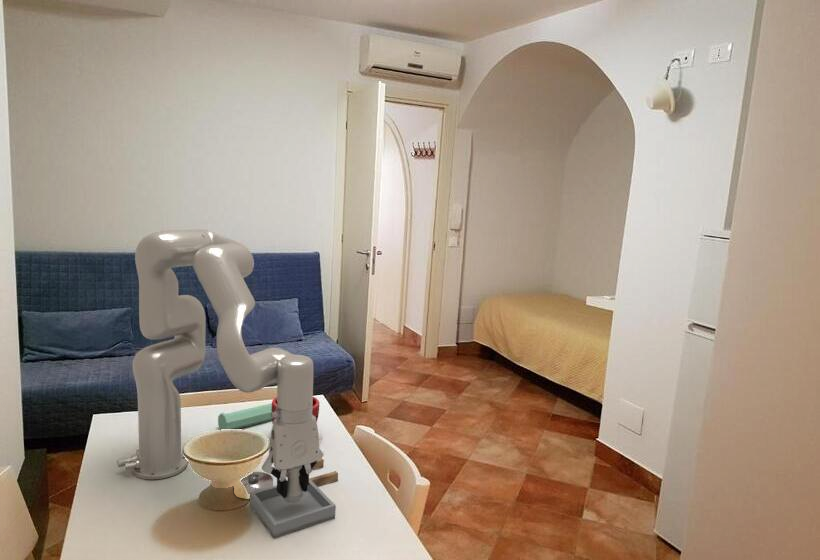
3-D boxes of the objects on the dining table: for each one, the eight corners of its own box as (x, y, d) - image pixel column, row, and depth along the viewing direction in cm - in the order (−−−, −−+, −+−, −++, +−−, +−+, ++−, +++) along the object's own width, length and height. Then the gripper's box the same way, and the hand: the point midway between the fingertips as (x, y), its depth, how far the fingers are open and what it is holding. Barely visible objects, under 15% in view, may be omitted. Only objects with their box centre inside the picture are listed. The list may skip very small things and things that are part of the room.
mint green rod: (294, 392, 176) (220, 409, 159) (304, 404, 173) (228, 422, 156) (290, 406, 179) (216, 424, 161) (299, 418, 175) (224, 438, 158)
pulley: (241, 503, 124) (241, 490, 123) (228, 485, 131) (228, 472, 130) (278, 492, 129) (279, 480, 128) (264, 475, 136) (264, 463, 136)
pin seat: (300, 491, 130) (300, 483, 130) (285, 475, 137) (285, 467, 137) (337, 480, 136) (338, 473, 136) (321, 465, 143) (321, 458, 143)
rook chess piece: (298, 504, 119) (299, 470, 118) (279, 501, 120) (279, 467, 118) (306, 494, 123) (307, 460, 122) (287, 490, 124) (288, 457, 123)
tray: (274, 538, 112) (274, 525, 112) (249, 505, 123) (250, 492, 123) (335, 518, 120) (335, 505, 120) (307, 488, 132) (307, 476, 131)
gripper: (263, 427, 110) (262, 511, 113) (337, 411, 120) (334, 489, 123) (250, 414, 116) (249, 494, 119) (321, 400, 126) (319, 474, 129)
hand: (292, 491), depth 121 cm, fingers closed on rook chess piece, 4 cm apart
